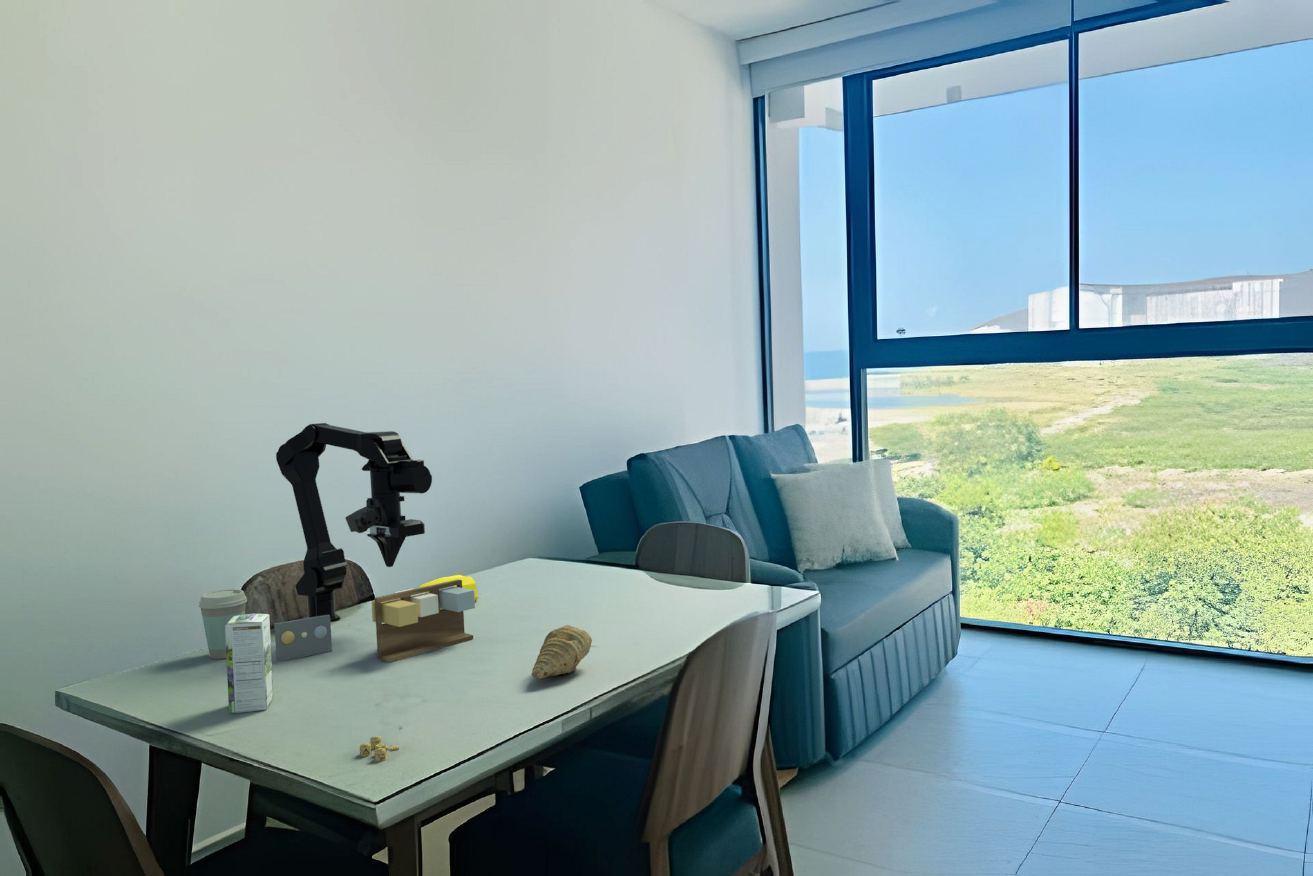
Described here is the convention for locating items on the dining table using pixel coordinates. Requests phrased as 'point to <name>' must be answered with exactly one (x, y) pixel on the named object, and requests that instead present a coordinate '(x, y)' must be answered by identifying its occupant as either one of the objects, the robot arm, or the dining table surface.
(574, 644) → the seashell
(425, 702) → the dining table surface
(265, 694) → the syrup box
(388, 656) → the button board
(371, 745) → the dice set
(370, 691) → the dining table surface
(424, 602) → the middle button
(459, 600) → the right button
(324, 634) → the card
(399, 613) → the left button
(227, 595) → the coffee cup
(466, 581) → the yellow curved piece
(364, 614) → the dining table surface
